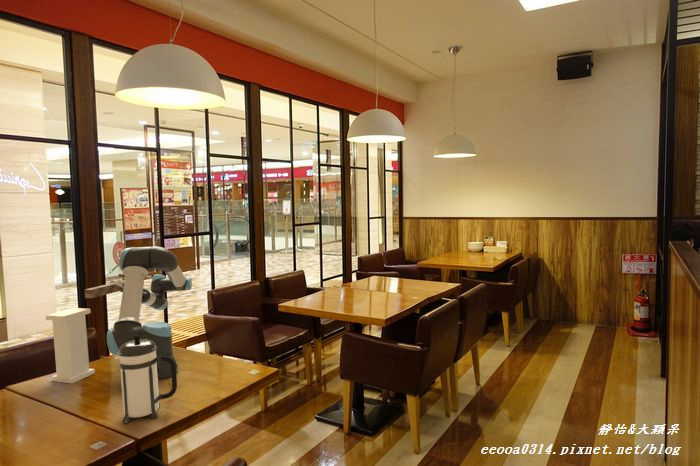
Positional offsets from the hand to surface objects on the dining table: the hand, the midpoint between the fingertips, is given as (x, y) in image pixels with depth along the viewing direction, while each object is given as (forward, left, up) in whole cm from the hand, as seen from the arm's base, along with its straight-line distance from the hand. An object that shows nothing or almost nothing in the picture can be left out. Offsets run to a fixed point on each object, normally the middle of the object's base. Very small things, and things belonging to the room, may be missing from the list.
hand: (113, 282), depth 230 cm
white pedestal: (-9, +25, -39) cm, 47 cm away
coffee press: (-72, +26, -39) cm, 86 cm away
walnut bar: (-1, +3, -5) cm, 6 cm away
